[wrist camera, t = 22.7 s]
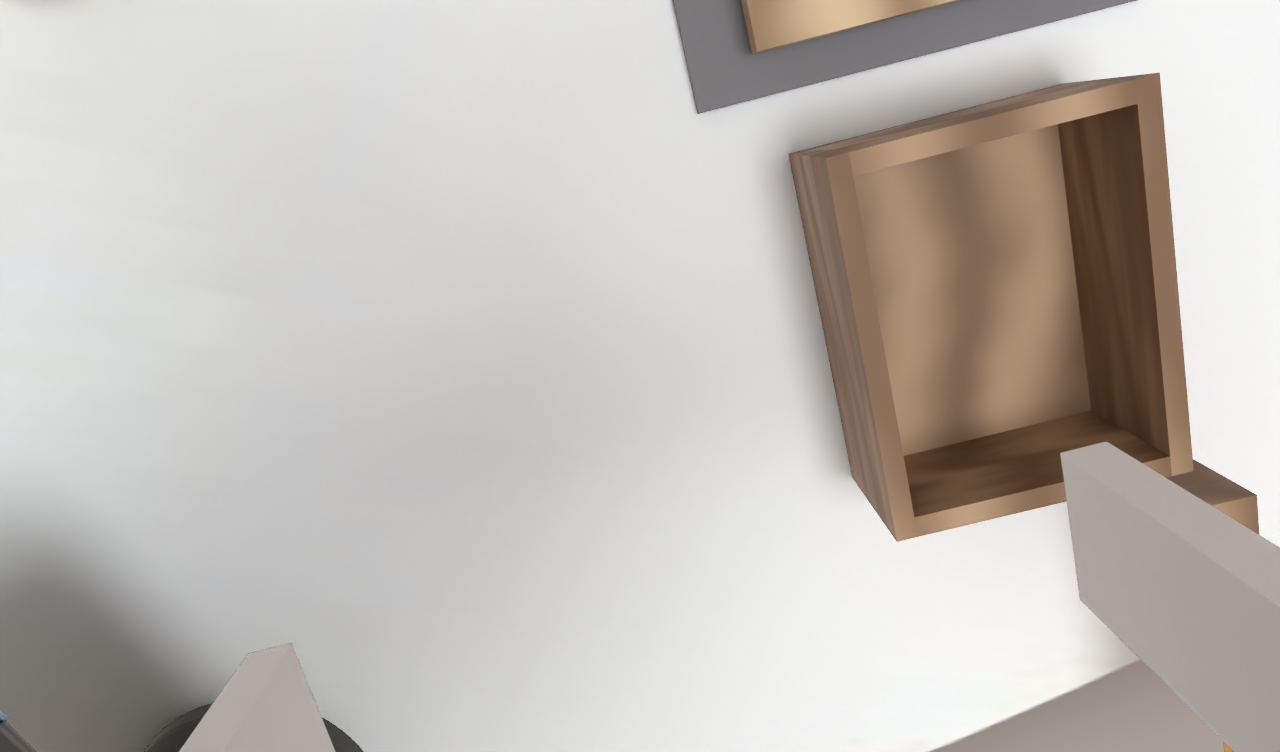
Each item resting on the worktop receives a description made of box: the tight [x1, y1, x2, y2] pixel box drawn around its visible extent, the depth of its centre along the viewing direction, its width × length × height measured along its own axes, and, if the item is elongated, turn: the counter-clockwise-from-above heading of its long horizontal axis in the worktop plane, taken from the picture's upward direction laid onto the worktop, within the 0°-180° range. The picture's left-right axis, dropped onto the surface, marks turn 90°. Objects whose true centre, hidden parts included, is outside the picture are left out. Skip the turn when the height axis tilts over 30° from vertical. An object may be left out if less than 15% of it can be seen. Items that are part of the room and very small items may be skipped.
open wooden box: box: [789, 73, 1259, 541], centre depth 43 cm, size 16×26×10 cm, turn 14°
